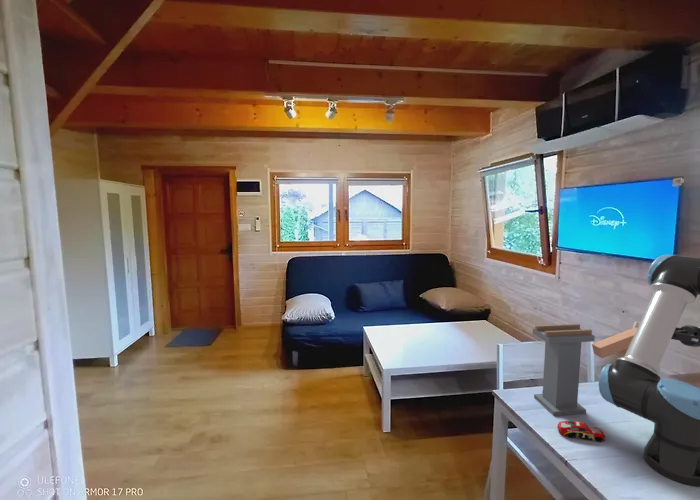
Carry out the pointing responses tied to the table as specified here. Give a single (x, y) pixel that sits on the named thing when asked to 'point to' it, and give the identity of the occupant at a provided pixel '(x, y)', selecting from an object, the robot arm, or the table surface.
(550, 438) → the table surface
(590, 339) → the stand
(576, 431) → the race car
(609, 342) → the bar
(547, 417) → the table surface
